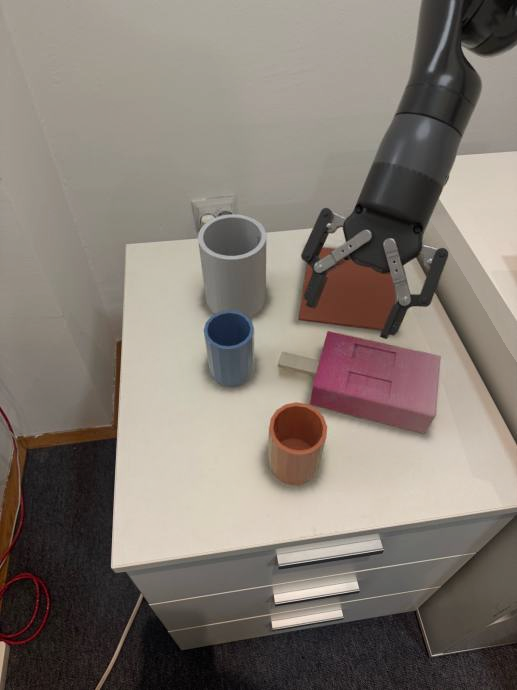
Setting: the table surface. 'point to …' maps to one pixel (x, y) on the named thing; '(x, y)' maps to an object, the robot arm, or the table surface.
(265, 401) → the table surface
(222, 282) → the cup
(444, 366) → the table surface
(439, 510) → the table surface
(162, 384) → the table surface
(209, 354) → the blue tumbler
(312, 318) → the clay mat
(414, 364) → the popsicle
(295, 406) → the terracotta tumbler
